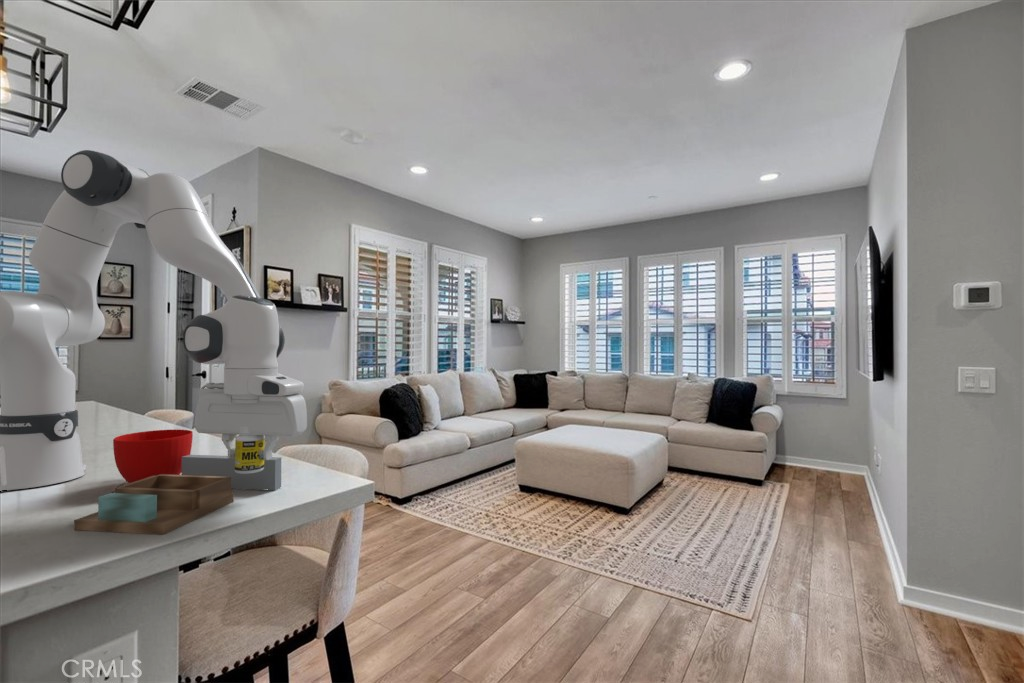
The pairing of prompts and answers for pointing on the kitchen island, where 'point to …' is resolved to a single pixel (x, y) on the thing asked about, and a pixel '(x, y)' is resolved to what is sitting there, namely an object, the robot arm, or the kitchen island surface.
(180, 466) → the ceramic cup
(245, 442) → the supplement bottle
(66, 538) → the kitchen island surface
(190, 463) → the board
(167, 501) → the divided wooden tray
